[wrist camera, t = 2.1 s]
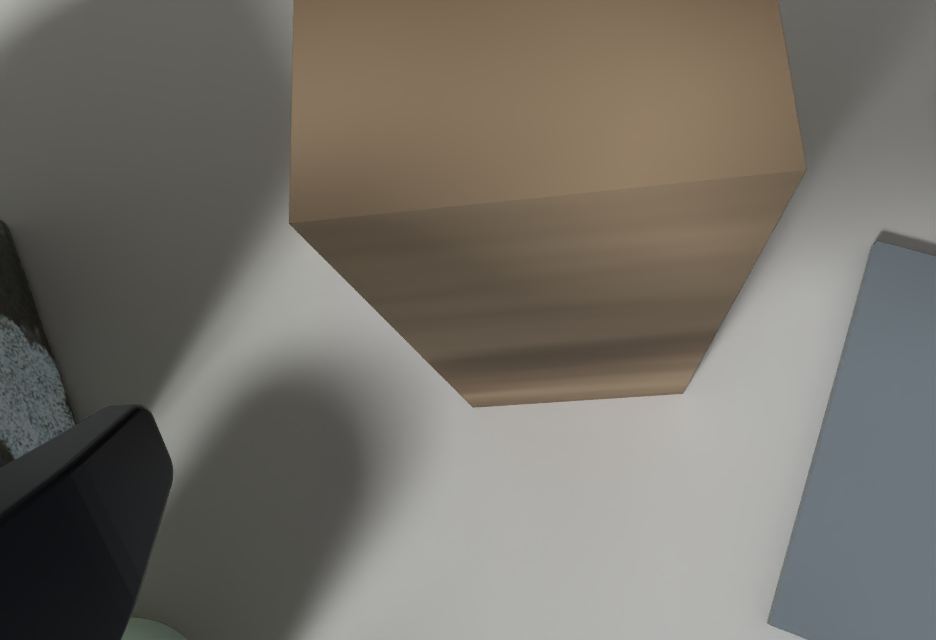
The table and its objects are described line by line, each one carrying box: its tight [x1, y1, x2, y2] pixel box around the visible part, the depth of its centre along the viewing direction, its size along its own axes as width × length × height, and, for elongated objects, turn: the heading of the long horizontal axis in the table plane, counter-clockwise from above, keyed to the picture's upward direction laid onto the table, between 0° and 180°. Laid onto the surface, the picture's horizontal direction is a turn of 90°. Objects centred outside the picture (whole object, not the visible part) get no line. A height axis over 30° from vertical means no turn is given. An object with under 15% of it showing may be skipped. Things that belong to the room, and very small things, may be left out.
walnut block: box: [289, 0, 806, 407], centre depth 14 cm, size 5×5×12 cm
